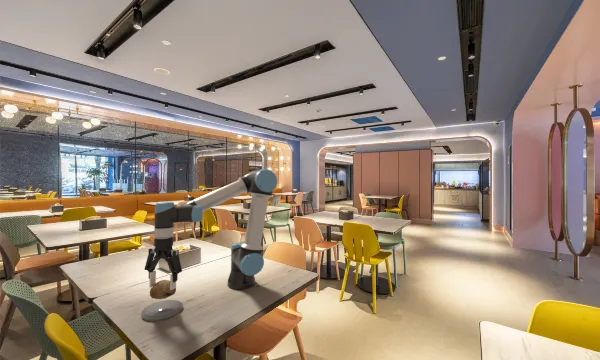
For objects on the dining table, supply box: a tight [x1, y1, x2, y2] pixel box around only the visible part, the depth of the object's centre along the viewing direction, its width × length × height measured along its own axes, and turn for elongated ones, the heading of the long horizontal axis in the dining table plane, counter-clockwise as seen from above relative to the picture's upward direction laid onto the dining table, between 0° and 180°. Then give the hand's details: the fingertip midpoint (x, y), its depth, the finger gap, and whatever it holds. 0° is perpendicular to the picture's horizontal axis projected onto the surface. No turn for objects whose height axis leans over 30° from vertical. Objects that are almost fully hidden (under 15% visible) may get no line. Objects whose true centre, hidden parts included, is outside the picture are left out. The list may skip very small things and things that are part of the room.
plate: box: [140, 299, 184, 322], centre depth 111 cm, size 16×16×1 cm
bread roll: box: [149, 279, 177, 300], centre depth 111 cm, size 10×10×8 cm
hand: (162, 287), depth 111 cm, fingers closed on bread roll, 10 cm apart
